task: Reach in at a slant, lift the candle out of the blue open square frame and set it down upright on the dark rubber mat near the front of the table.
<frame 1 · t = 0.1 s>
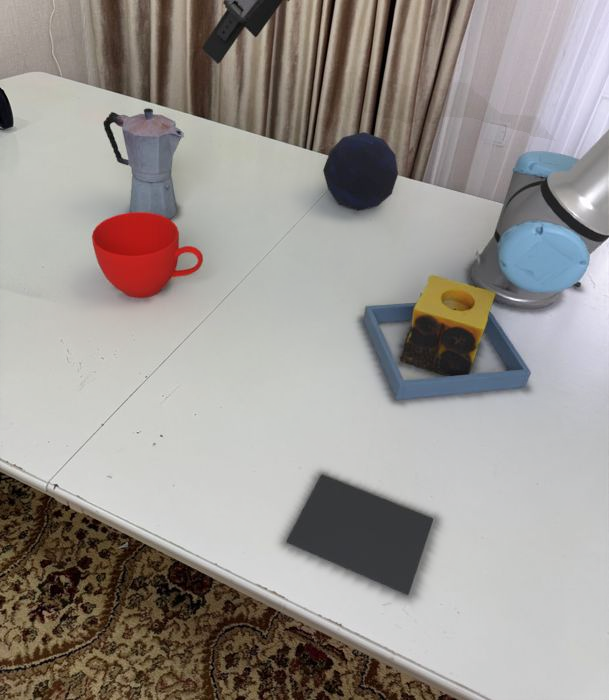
hand: (231, 42, 85), 36 cm above the table, tool tilted 35°, fingers open, 13 cm apart
decorative orb: (356, 205, 128), on the table
mat: (361, 531, 70), on the table
moka pot: (151, 212, 120), on the table
ceramic cup: (154, 289, 102), on the table
blue open square frame: (440, 352, 94), on the table
candle: (439, 353, 94), resting in blue open square frame
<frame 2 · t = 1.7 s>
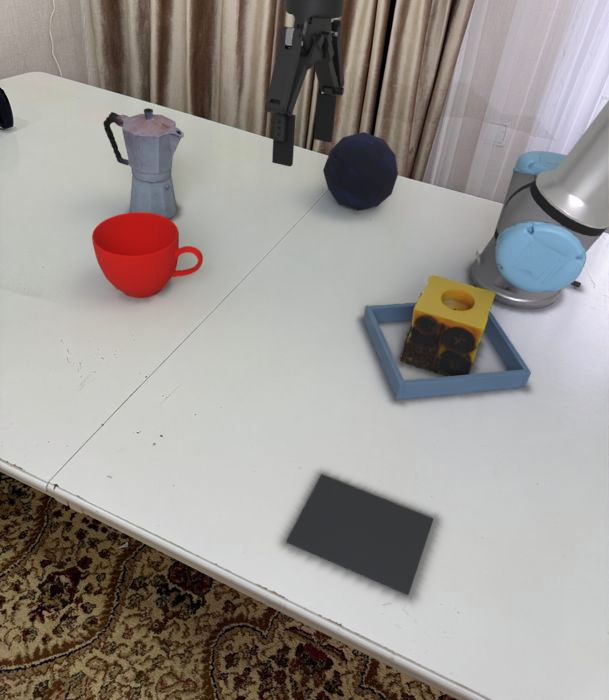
hand: (303, 151, 89), 24 cm above the table, tool pointing down, fingers open, 13 cm apart
nothing on the table moved.
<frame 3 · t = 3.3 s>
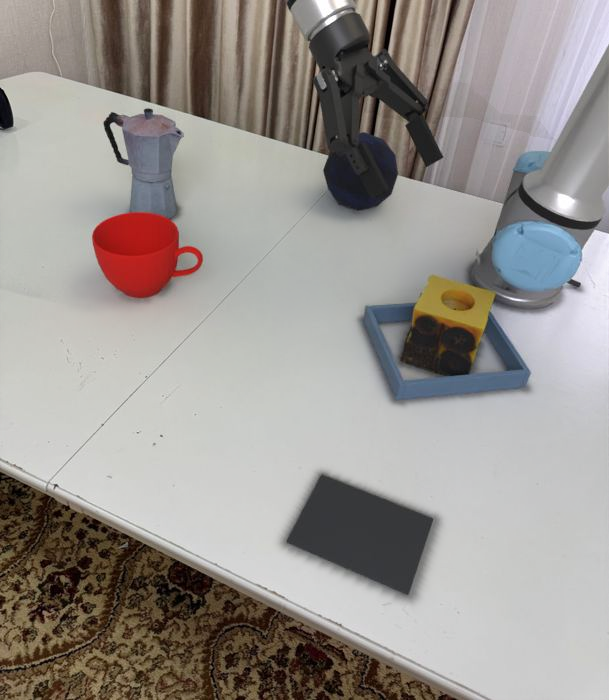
hand: (409, 177, 83), 25 cm above the table, tool tilted 45°, fingers open, 13 cm apart
nothing on the table moved.
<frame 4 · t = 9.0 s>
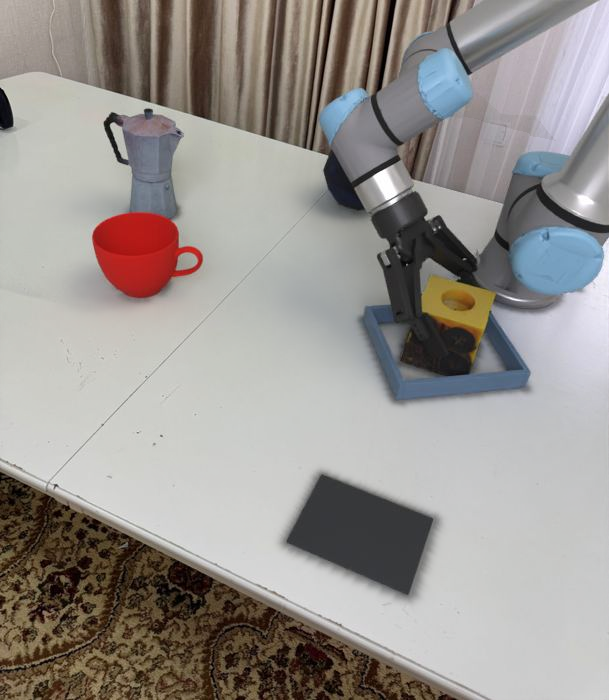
hand: (462, 335, 90), 5 cm above the table, tool tilted 45°, fingers closed on candle, 12 cm apart
candle: (439, 353, 94), resting in blue open square frame, touching gripper
everything else where it was.
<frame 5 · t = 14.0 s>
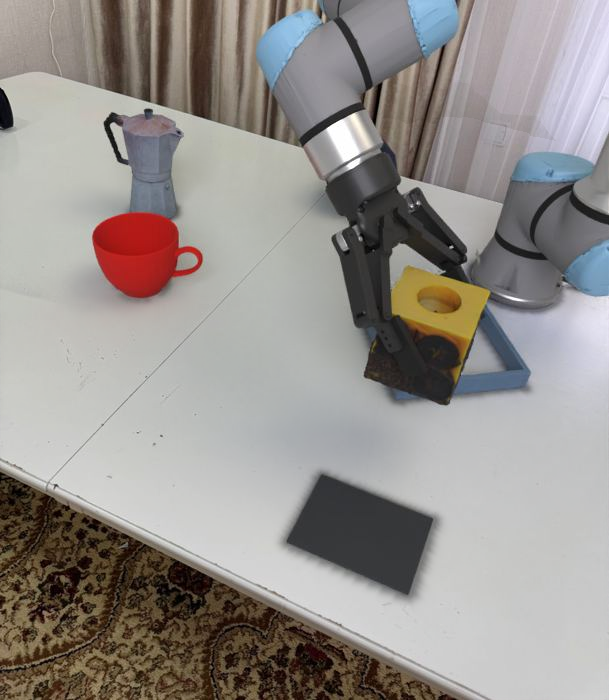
hand: (447, 345, 68), 18 cm above the table, tool tilted 45°, fingers closed on candle, 12 cm apart
candle: (416, 368, 73), point 12 cm above the table, touching gripper
everything else where it was.
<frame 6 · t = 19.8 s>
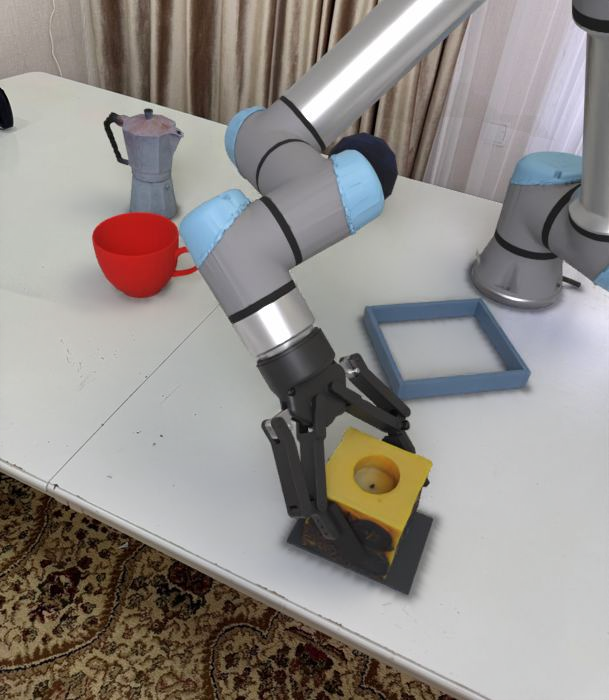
hand: (389, 519, 65), 5 cm above the table, tool tilted 45°, fingers closed on candle, 11 cm apart
candle: (359, 529, 70), resting on mat, touching gripper
everything else where it was.
when the fingers open (5 cm above the table, at t = 19.9 s): candle stays where it is, resting on mat.
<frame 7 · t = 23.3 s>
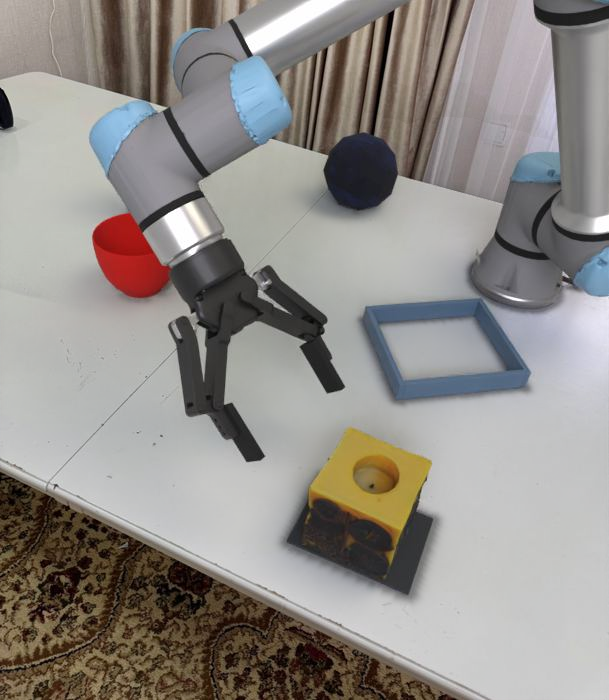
hand: (298, 423, 68), 10 cm above the table, tool tilted 45°, fingers open, 13 cm apart
candle: (359, 529, 70), resting on mat
everything else where it was.
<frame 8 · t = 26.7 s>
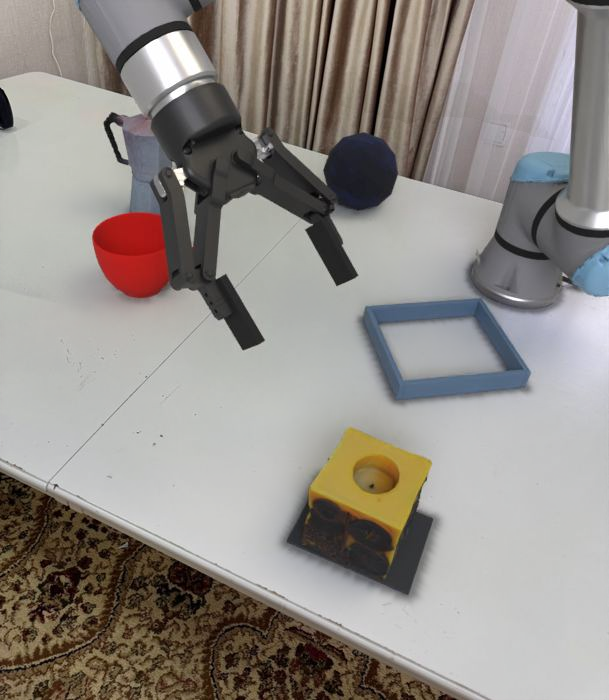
hand: (304, 311, 58), 26 cm above the table, tool tilted 45°, fingers open, 13 cm apart
nothing on the table moved.
at the end: candle inside the target area on the mat (0.3 cm from its centre), point 0.2 cm above the mat's base; candle tilted 0°; the gripper is holding nothing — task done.
